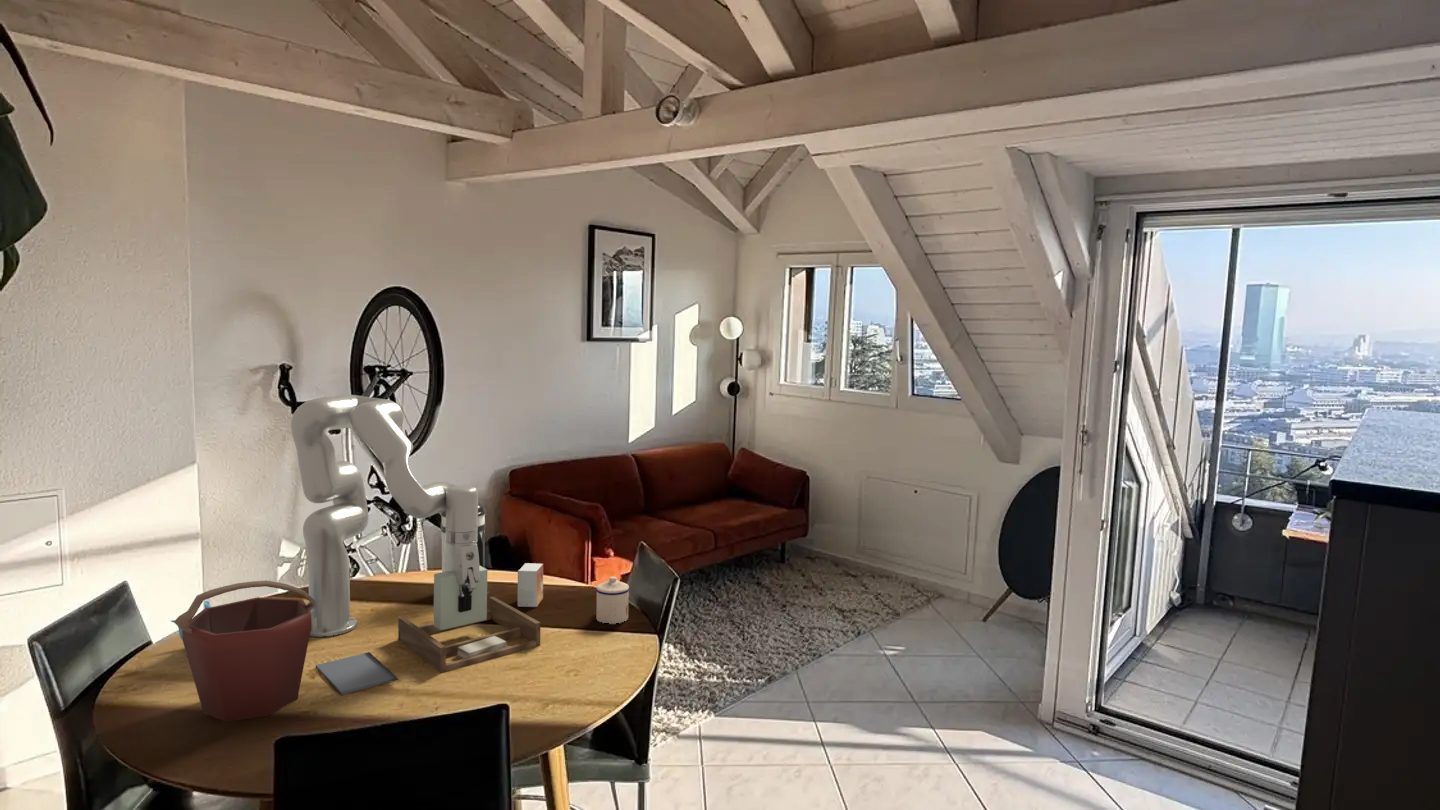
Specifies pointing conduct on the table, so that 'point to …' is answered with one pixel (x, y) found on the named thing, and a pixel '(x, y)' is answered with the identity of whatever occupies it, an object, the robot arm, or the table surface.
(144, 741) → the table surface
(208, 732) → the table surface
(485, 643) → the offcut upper
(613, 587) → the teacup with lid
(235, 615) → the bucket
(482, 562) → the coffee press
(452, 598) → the pale green block
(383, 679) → the mat
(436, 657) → the rack
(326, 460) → the robot arm
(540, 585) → the small box
